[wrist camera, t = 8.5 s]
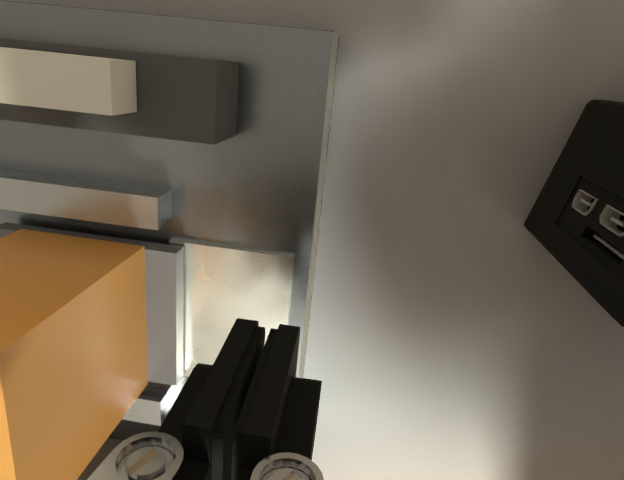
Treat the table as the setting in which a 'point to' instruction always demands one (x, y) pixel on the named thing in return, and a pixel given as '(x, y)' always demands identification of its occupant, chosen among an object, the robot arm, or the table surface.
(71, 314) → the toggle
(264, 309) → the panel
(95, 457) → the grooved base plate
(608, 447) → the table surface
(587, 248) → the digital camera
